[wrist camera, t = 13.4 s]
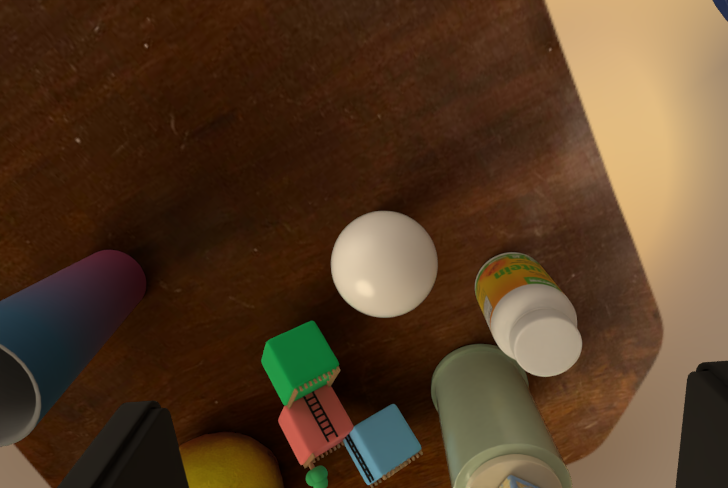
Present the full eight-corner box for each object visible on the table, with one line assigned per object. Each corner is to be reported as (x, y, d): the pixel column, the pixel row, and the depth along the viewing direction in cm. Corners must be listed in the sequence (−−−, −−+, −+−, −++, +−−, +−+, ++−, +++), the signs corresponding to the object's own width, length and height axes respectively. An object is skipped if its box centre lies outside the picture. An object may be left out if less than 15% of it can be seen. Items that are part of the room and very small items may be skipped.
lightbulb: (327, 247, 39) (308, 311, 29) (360, 170, 38) (353, 209, 27) (404, 279, 40) (413, 353, 30) (440, 205, 38) (464, 256, 28)
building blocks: (335, 339, 47) (408, 463, 43) (251, 380, 43) (323, 521, 39) (356, 298, 41) (445, 438, 36) (261, 341, 37) (348, 504, 32)
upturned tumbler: (528, 341, 41) (585, 443, 30) (525, 424, 44) (577, 547, 33) (428, 345, 42) (448, 448, 30) (431, 428, 44) (450, 552, 33)
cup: (175, 294, 41) (68, 414, 27) (108, 333, 42) (-29, 467, 28) (121, 222, 39) (-25, 308, 25) (52, 264, 40) (-125, 370, 26)
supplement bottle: (543, 245, 39) (594, 300, 30) (546, 311, 41) (596, 381, 31) (470, 255, 39) (498, 312, 30) (476, 320, 41) (505, 392, 32)
